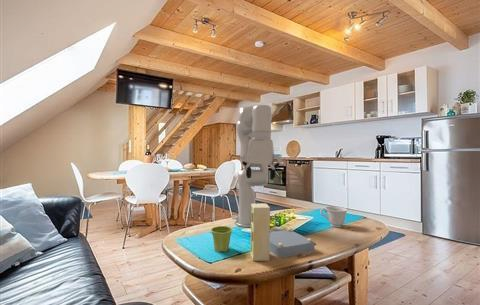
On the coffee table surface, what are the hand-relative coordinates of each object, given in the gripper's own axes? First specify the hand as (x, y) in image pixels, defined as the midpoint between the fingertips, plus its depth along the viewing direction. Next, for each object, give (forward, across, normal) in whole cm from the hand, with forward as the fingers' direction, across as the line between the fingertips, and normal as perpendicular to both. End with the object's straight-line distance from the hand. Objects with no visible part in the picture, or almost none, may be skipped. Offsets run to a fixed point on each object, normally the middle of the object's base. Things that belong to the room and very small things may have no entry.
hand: (260, 178), depth 104 cm
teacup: (+32, +28, +58) cm, 72 cm away
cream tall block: (+32, 0, 0) cm, 32 cm away
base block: (+32, +8, +15) cm, 36 cm away
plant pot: (+32, -17, +1) cm, 36 cm away
